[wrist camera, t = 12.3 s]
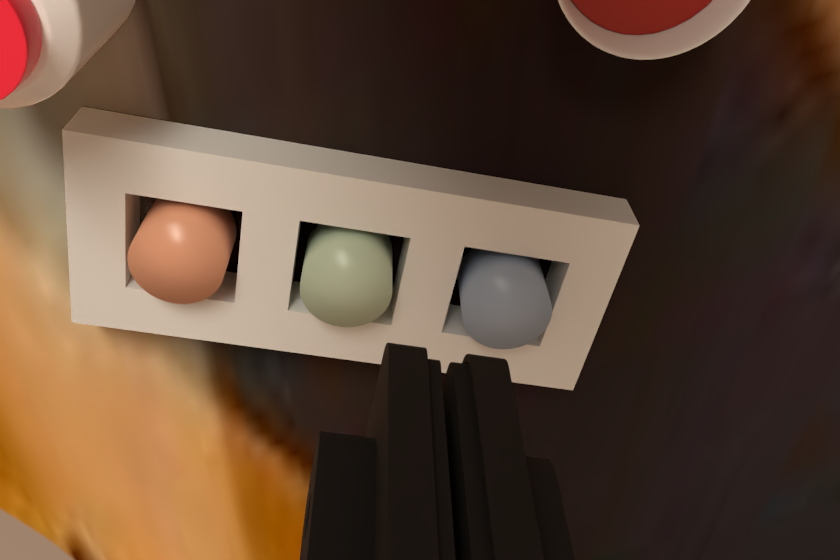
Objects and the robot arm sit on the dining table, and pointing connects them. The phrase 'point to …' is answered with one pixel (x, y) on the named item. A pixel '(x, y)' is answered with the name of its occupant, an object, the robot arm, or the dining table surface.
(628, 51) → the candle
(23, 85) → the pill bottle
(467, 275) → the button slate
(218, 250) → the button terracotta
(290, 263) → the console
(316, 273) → the button sage
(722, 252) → the dining table surface
